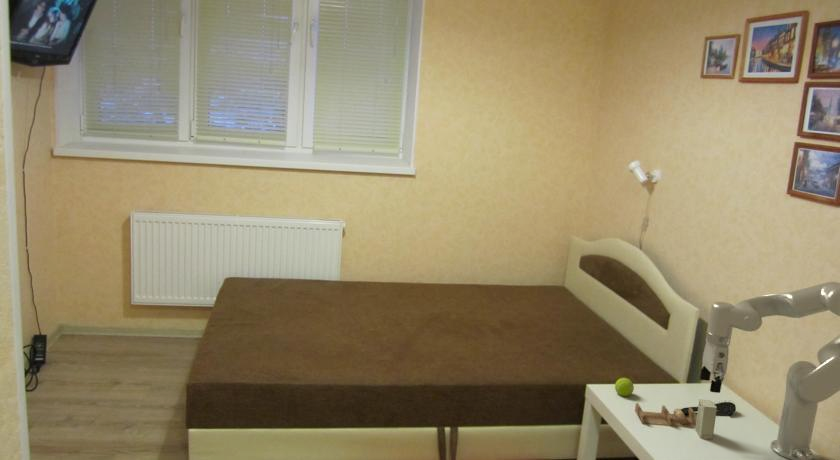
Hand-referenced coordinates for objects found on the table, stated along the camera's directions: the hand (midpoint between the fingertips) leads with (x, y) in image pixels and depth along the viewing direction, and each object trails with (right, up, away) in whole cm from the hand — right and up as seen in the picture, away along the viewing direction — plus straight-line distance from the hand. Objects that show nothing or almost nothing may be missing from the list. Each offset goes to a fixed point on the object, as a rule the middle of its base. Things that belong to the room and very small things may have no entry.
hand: (709, 385), depth 224 cm
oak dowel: (-5, -16, +12) cm, 20 cm away
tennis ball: (-20, -12, +32) cm, 39 cm away
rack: (-10, -16, +13) cm, 23 cm away
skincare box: (-1, -18, +3) cm, 19 cm away
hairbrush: (+8, -15, +21) cm, 27 cm away
